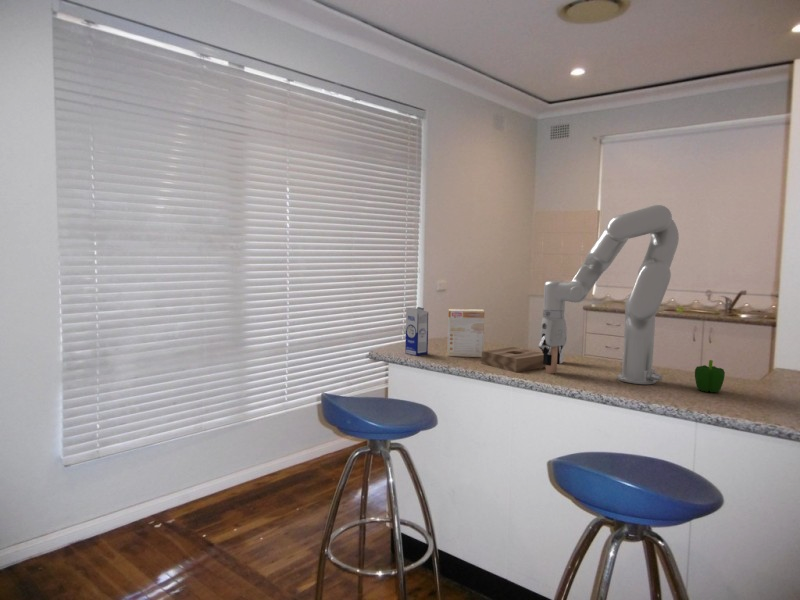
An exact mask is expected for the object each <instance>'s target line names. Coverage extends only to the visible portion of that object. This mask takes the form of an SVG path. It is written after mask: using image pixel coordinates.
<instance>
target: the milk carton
mask: <svg viewBox="0 0 800 600" xmlns="http://www.w3.org/2000/svg"><path fill="white" fill-rule="evenodd" d="M405 310H406V311H405V349H404V350H405V352H404V354H406V355H411V356H414V357H415V356H416V357H417V356H424V355H428V352H429V350H428V348H429V346H428V345H429V315H430V314H429V311H427V310H425V308H424V307H420V306H417V308H415V307H414V308H413V307H406V309H405Z"/></svg>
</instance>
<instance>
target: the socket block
mask: <svg viewBox="0 0 800 600" xmlns="http://www.w3.org/2000/svg"><path fill="white" fill-rule="evenodd" d="M543 357H544V354H543V353H542V352H539V351H535V350H530V349H526V348H520V347H515V346H513V347H503V348H495V349H488V350H483V351H482V357H481V361H480V362H481V364H482V365H485V366H486V365H487V366H489V367H493V368H496V369H502V370H506V371H509V372H513V373H520V372H521V373H522V372H527V371H532V370H531V369H533V370H537V369H536V368H539V369H543V368H542V367H545V368H546V365H544V364H543ZM526 370H527V371H526Z"/></svg>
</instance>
